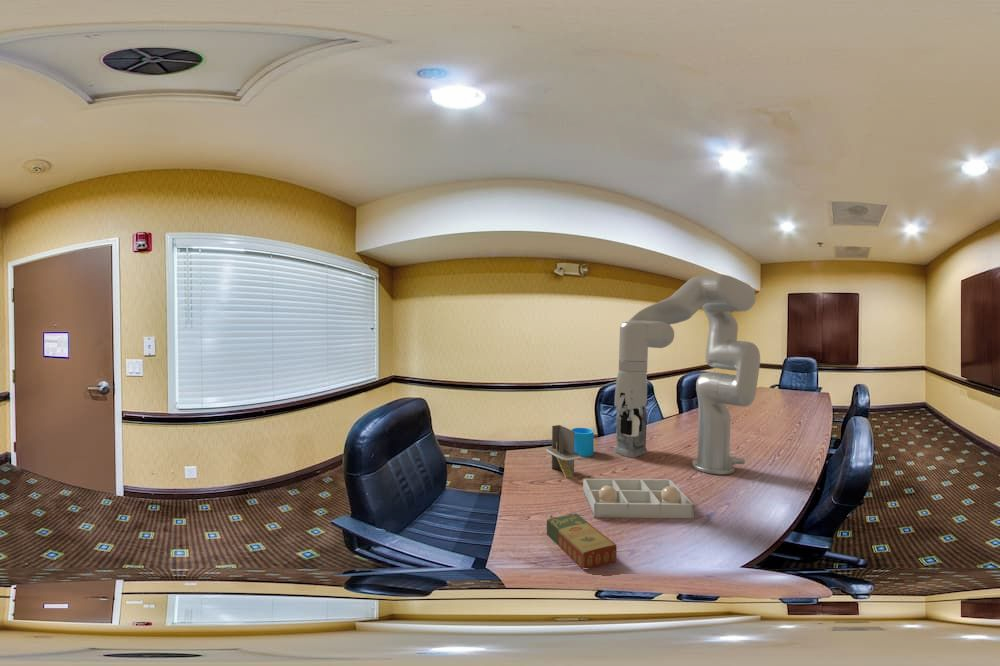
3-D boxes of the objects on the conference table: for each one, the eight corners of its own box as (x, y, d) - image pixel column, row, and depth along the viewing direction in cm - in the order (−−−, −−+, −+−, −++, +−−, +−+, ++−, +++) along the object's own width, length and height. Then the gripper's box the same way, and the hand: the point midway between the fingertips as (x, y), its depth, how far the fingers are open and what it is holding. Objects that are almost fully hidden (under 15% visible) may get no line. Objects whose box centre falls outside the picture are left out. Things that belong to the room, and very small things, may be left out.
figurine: (652, 451, 167) (653, 384, 165) (629, 459, 158) (630, 388, 156) (629, 445, 174) (630, 380, 173) (606, 452, 165) (607, 384, 164)
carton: (582, 572, 91) (582, 551, 91) (545, 535, 106) (545, 517, 106) (617, 563, 94) (617, 543, 94) (576, 528, 109) (576, 511, 109)
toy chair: (555, 493, 130) (556, 443, 129) (516, 465, 152) (517, 422, 152) (611, 483, 138) (612, 435, 137) (566, 457, 161) (567, 417, 160)
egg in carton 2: (675, 504, 121) (676, 483, 120) (682, 512, 116) (682, 490, 116) (658, 504, 121) (658, 483, 121) (664, 512, 116) (664, 490, 116)
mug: (582, 448, 171) (582, 426, 170) (598, 453, 164) (598, 431, 164) (558, 453, 164) (558, 431, 164) (573, 460, 158) (573, 436, 157)
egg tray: (669, 491, 131) (669, 479, 131) (693, 518, 114) (694, 504, 114) (582, 490, 131) (583, 478, 131) (594, 517, 114) (594, 503, 114)
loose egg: (636, 432, 128) (637, 412, 128) (641, 436, 123) (642, 416, 123) (620, 432, 128) (620, 412, 128) (624, 436, 123) (625, 415, 123)
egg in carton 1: (614, 503, 121) (614, 482, 121) (618, 511, 116) (619, 489, 116) (597, 503, 121) (597, 482, 121) (600, 511, 116) (601, 489, 116)
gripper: (636, 363, 133) (634, 424, 134) (604, 367, 121) (602, 435, 122) (660, 365, 128) (658, 429, 129) (629, 370, 116) (627, 441, 117)
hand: (631, 431), depth 126 cm, fingers closed on loose egg, 4 cm apart
